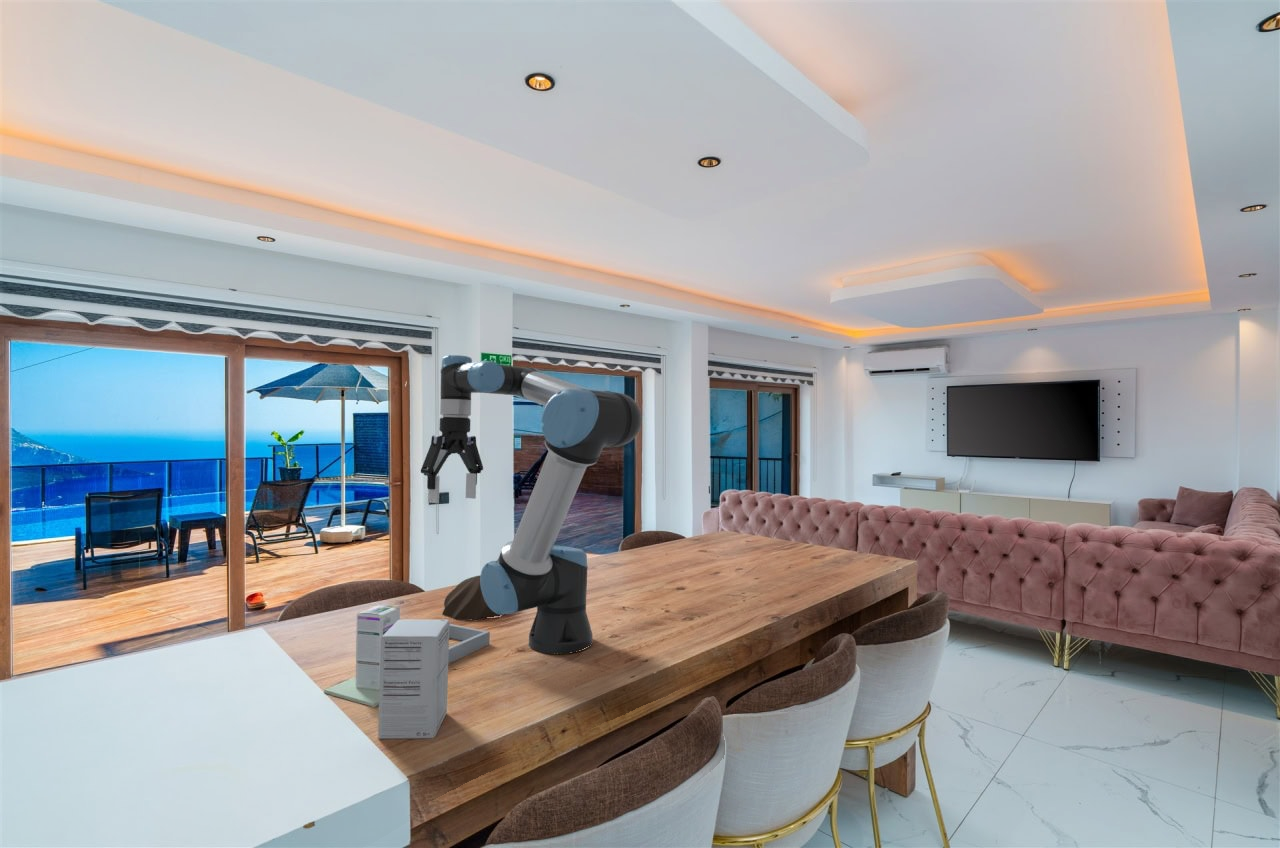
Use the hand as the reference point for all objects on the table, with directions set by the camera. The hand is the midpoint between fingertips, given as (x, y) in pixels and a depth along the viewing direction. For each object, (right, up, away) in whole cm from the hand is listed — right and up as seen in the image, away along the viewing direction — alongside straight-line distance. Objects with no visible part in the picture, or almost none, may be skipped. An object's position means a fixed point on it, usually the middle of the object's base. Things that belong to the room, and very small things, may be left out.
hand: (452, 500), depth 156 cm
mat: (-4, -32, -36) cm, 48 cm away
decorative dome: (+2, -34, +17) cm, 38 cm away
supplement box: (+9, -32, -51) cm, 61 cm away
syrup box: (-4, -32, -36) cm, 48 cm away
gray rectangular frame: (0, -32, -18) cm, 37 cm away
